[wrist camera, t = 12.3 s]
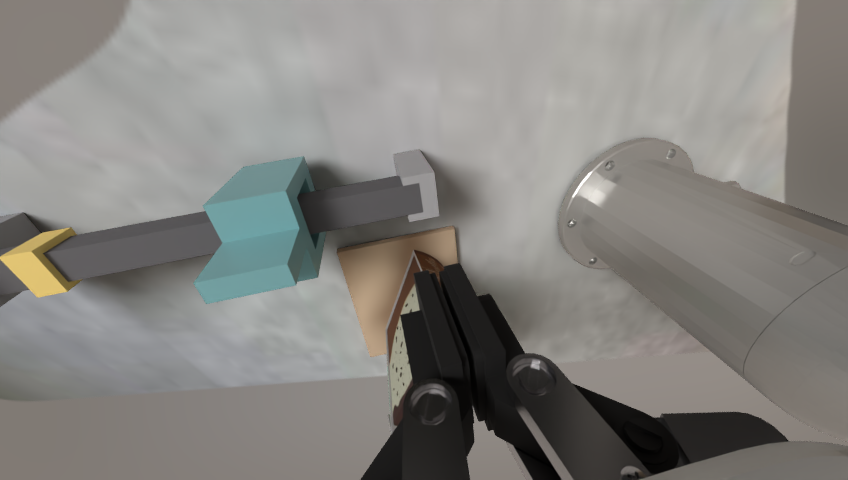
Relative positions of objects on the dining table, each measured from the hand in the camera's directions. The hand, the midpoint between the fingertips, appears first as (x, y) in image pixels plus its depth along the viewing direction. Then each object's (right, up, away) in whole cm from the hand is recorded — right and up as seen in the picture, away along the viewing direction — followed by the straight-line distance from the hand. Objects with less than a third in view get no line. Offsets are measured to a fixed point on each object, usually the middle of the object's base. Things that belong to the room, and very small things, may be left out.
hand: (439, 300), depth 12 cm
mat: (-2, -3, +19) cm, 19 cm away
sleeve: (-10, +5, +11) cm, 16 cm away
